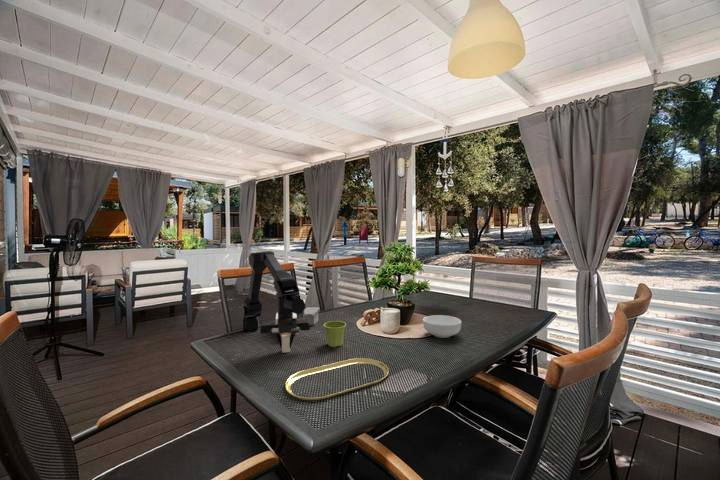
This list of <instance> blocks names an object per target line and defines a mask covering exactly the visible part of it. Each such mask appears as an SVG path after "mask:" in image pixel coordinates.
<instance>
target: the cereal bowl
mask: <svg viewBox="0 0 720 480" xmlns="http://www.w3.org/2000/svg"><path fill="white" fill-rule="evenodd" d="M422 324H423V328H424V330H425V331H426V332H427V333H429V334H431V335H433V336H434V337H436V338H440V339H446V338H450V337H451V336H455V335H457V334H458V333H459V332H460V331H461V328H462V320H461V319H460V318H458V317H454V316H452V315H451V316H450V315H444V314H436V315H428V316H425V317H423V319H422Z"/></svg>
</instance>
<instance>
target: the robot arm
mask: <svg viewBox="0 0 720 480" xmlns="http://www.w3.org/2000/svg"><path fill="white" fill-rule="evenodd" d="M279 262H280V261H278V259H277V258H276V256H275V252H274V251H272V250H268V251H267V250H266V251H260V252H258V251H257V252H251V253H250V254H249V256H248V264H249V267H250V268H251V274H250V281H249V287H248V288H249V289H248V294H247V297H246V299H245V300H244V301H243V303H242V306H241V308H240V311H239V313H238V314H239V318H240V319H242V333H248V332H249V333H250V332H257V331H258V329H259V330H260V334H269V333H270V332H271V334H272V336H273V335H274V336H275V338H276V339H277V342H278V343H279V346H280V349H282V339H281V333H290V332H291V335H290V348H291V347H292V345H293V341H294V339H295V336H296V335H295V334H296V333H297V334H298V333H300V331H299V330H301V331H310V330H311V326H310V323H309V320H308V319H306V320H303V319H299V320H298V318H296V319H293V313H295V314H297V315H299V314H301V313H303V312H304V310H305V309H306V308H305V307H306V303H305V300H304V299H302V298H301V295H300V294H301V293H300V288H299V286H298V284H297V282H296V279H295V278H294V277H293V276H292V275H291V273H289V272H287V271H285V270H284V268H283V267H282V265H281V263H279ZM266 269H268V271H269V273H270V275H271V276H272V278H273V284H272V285H273V286H274V287H273V288H274V289H275V291H276V293H275V296H276V297H277V313H278V324H276V323H274V324H272V321H263V322H261V324H260V323H259V321H260V320H259V318H258V317H261V315H262V309H263V308H262V306H263V304H262V303H261V301H260V293H261V285H262V280H263V274H264V271H265V270H266Z"/></svg>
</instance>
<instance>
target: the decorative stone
mask: <svg viewBox="0 0 720 480" xmlns="http://www.w3.org/2000/svg"><path fill="white" fill-rule="evenodd" d="M320 308H321V307H313V306H312V307H309V306H308V307H306V308H304V310H303V319H302V320H306V319H308V320H309V323H310V327H313V326H315V325H316V324H317V323H318V322H319V318H320V315H319V311H320Z"/></svg>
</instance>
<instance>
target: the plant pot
mask: <svg viewBox="0 0 720 480" xmlns="http://www.w3.org/2000/svg"><path fill="white" fill-rule="evenodd" d="M346 326H347V323H346V322H344V321H342V320H341V321H340V320H331V321H327V322H324V324H323V328H324V330H325V334H326V341H327V345H328V346H329V347H330V348H337V347H341V346H342V345H343V343H344V342H343V340H344V334H345V329H346Z"/></svg>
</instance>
